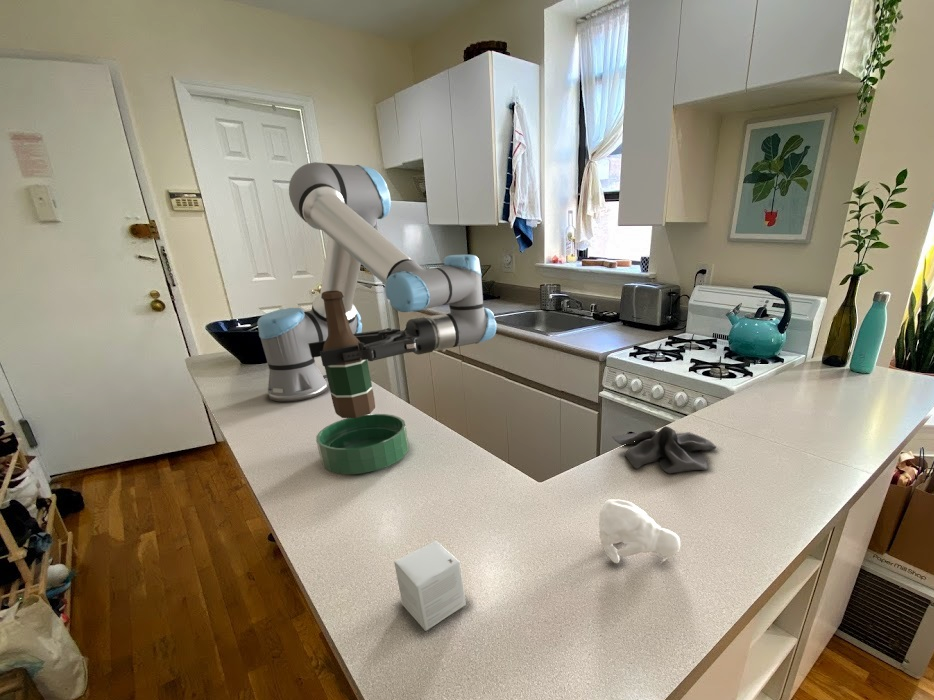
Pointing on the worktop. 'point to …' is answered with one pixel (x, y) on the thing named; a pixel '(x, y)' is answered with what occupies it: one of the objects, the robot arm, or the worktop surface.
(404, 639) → the worktop surface
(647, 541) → the white irregular figure
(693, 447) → the cloth
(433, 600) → the product box
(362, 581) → the worktop surface
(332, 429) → the green bowl
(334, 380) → the beer bottle
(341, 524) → the worktop surface
